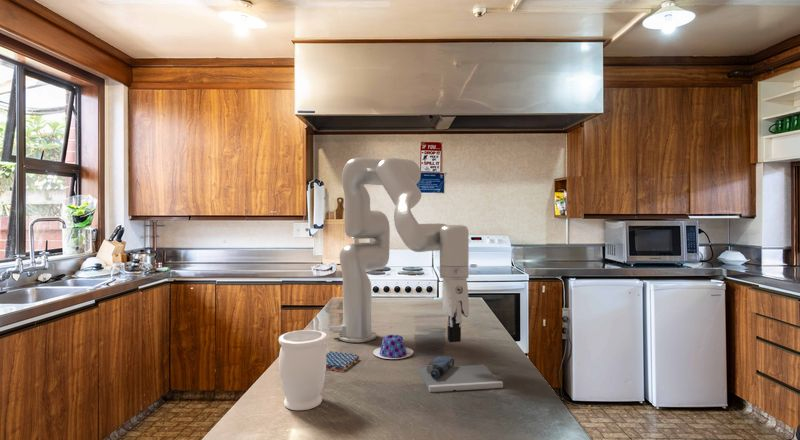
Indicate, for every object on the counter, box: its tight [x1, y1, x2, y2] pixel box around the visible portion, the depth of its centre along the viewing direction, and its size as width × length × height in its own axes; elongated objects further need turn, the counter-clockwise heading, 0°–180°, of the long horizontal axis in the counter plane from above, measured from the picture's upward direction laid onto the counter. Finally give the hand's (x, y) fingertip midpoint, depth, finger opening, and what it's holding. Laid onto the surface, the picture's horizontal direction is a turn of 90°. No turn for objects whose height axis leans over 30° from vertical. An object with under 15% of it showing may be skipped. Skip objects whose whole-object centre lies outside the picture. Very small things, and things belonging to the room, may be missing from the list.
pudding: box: [372, 334, 414, 360], centre depth 130 cm, size 12×12×5 cm
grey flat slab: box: [418, 364, 504, 393], centre depth 111 cm, size 18×14×1 cm
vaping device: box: [426, 355, 455, 379], centre depth 114 cm, size 3×5×12 cm
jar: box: [278, 329, 327, 411], centre depth 97 cm, size 11×10×15 cm
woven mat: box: [326, 350, 361, 373], centre depth 122 cm, size 10×11×2 cm
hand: (454, 341), depth 115 cm, fingers closed
